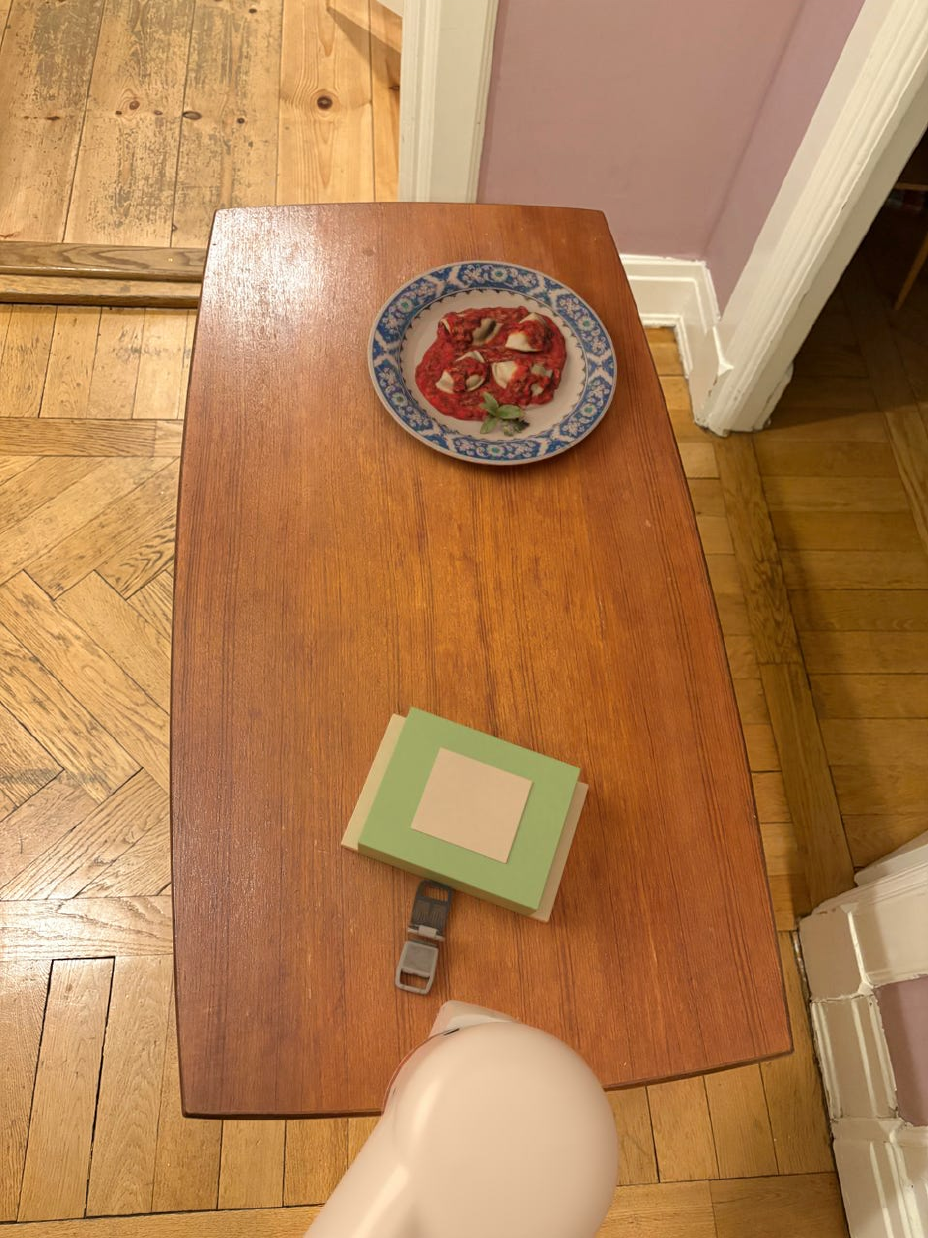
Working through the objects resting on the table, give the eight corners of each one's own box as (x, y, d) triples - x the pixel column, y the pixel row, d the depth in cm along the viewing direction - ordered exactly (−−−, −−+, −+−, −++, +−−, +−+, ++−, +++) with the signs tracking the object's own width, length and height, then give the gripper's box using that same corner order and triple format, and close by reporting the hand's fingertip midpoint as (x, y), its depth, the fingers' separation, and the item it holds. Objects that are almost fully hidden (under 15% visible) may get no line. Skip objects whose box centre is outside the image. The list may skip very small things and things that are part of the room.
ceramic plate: (392, 254, 104) (393, 233, 101) (622, 299, 105) (629, 279, 102) (344, 449, 94) (343, 431, 91) (599, 497, 94) (606, 481, 91)
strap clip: (429, 997, 75) (433, 995, 71) (391, 987, 75) (393, 985, 71) (454, 888, 78) (459, 881, 74) (418, 879, 78) (421, 872, 74)
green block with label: (545, 923, 78) (556, 917, 73) (340, 846, 78) (339, 835, 74) (586, 788, 82) (599, 774, 78) (392, 716, 83) (394, 699, 79)
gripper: (500, 1362, 37) (456, 1264, 54) (597, 976, 43) (531, 995, 60) (321, 1293, 37) (332, 1217, 54) (443, 920, 44) (419, 955, 60)
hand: (436, 1101), depth 57 cm, fingers closed
